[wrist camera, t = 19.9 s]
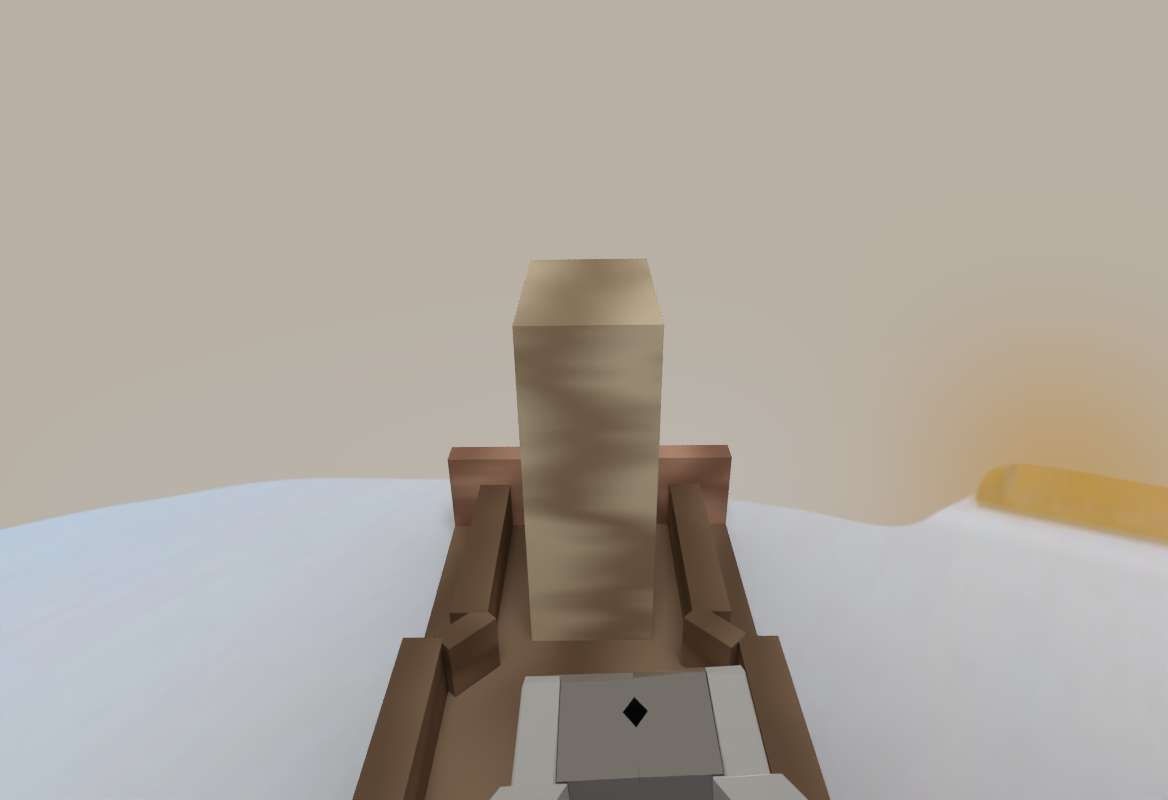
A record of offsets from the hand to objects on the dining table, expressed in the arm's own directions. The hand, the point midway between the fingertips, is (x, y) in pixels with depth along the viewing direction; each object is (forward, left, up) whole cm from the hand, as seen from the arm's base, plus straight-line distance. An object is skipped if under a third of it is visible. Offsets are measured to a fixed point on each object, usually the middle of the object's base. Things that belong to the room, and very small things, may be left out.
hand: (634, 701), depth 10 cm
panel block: (+1, -19, -14) cm, 24 cm away
